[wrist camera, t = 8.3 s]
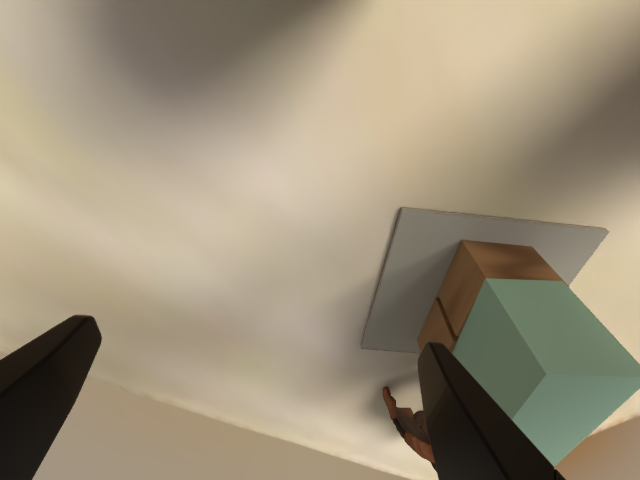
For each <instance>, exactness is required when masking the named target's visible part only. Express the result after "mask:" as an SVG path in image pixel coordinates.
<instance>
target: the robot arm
mask: <svg viewBox="0 0 640 480" xmlns="http://www.w3.org/2000/svg"><path fill="white" fill-rule="evenodd" d="M101 340H102V336H101V333H100V330H99V328H98V326H97V323H96V321H95V319H94V317H92V316H90V315H74V316H72V317H70V318H68V319H67V320H65V321H63V322H62V323H60V324H58V325H57V326H55V327H53V328H52V329H50V330H49V331H47V332H45V333H44V334H42V335H40V336H39V337H37V338H35V339H34V340H32V341H31V342H29V343H27V344H26V345H24V346H22V347H21V348H19V349H17V350H16V351H14V352H13V353H11V354H9V355H8V356H6V357H5V358H3V359H1V360H0V480H32V479H33V477H34V475H35V473H36V471H37V470H38V468H39V466H40V464H41V462H42V461H43V459H44V457H45V455H46V454H47V452H48V450H49V448H50V446H51V444H52V443H53V441H54V439H55V437H56V436H57V434H58V432H59V430H60V428H61V427H62V425H63V423H64V421H65V420H66V418H67V415H68V414H69V412H70V411H71V409H72V407H73V405H74V403H75V401H76V399H77V397H78V395H79V392H80V391H81V388H82V386H83V384H84V381H85V379H86V377H87V375H88V372H89V370H90V368H91V365H92V363H93V361H94V358H95V356H96V354H97V352H98V349H99V347H100V344H101ZM418 373H419V380H420V388H421V395H422V403H423V410H424V417H425V423H426V428H427V432H428V436H429V441H430V445H431V449H432V453H433V457H434V461H435V466H436V470H437V474H438V478H439V480H566V479H565V478H564V477H563V476H562V475H561V474H560V473H559V472H558V470H554V466H553V465H552V464H551V463H550V462H549V460H548V459H547V458H546V457H545V456H544V455H543V454H542V453H541V452H540V450H539V449H538V448H537V447H536V446H535V445H534V444H533V443H532V442H531V441H530V439H529V438H528V437H527V436H526V435H525V434H524V433H523V432H522V431H521V429H520V428H519V427H518V426H517V425H516V424H515V423H514V422H513V421H512V419H511V418H510V417H509V416H508V415H507V414H506V413H505V412H504V411H503V409H502V408H501V407H500V406H499V405H498V404H497V403H496V402H495V401H494V399H493V398H492V397H491V396H490V395H489V394H488V393H487V392H486V391H485V389H484V388H483V387H482V386H481V385H480V384H479V383H478V382H477V381H476V379H475V378H474V377H473V376H472V375H471V374H470V373H469V372H468V371H467V369H466V368H465V367H464V366H463V365H462V364H461V363H460V362H459V361H458V359H457V358H456V357H455V356H454V355H453V354H452V353H451V352H450V351H449V350H448V348H447V347H446V346H445V345H444V344H442V343H441V342H431V341H429V342H427V343H426V344H425V346H424V348H423V350H422V352H421V354H420V356H419V359H418Z"/></svg>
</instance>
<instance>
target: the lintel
mask: <svg viewBox="0 0 640 480" xmlns="http://www.w3.org/2000/svg"><path fill="white" fill-rule="evenodd" d="M452 354H453V355H454V356H455V357H456V358H457V359H458V361H459V362H460V363H461V364H462V365H463V366H464V367H465V368H466V369H467V371H468V372H469V373H470V374H471V375H472V376H473V377H474V378H475V379H476V381H477V382H478V383H479V384H480V385H481V386H482V387H483V388H484V389H485V391H486V392H487V393H488V394H489V395H490V396H491V397H492V398H493V399H494V401H495V402H496V403H497V404H498V405H499V406H500V407H501V408H502V409H503V411H504V412H505V413H506V414H507V415H508V416H509V417H510V418H511V419H512V421H513V422H514V423H515V424H516V425H517V426H518V427H519V428H520V429H521V431H522V432H523V433H524V434H525V435H526V436H527V437H528V438H529V439H530V441H531V442H532V443H533V444H534V445H535V446H536V447H537V448H538V449H539V450H540V452H541V453H542V454H543V455H544V456H545V457H546V458H547V459H548V460H549V462H550V463H551V464H552V465H553V466H555V465H556V464H558V463H559V462H560V461H561V460H562V459H563V458H564V457H565V456H566V455H567V454H568V453H569V452H571V451H572V450H573V449H574V448H575V447H576V446H577V445H578V444H579V443H580V442H582V441H583V440H584V439H585V438H586V437H587V436H588V435H589V434H590V433H591V432H592V431H594V430H595V429H596V428H597V427H598V426H599V425H600V424H601V423H602V422H603V421H604V420H606V419H607V418H608V417H609V416H610V415H611V414H612V413H613V412H614V411H615V410H616V409H618V408H619V407H620V406H621V405H622V404H623V403H624V402H625V401H626V400H627V399H628V398H630V397H631V396H632V395H633V394H634V393H635V392H636V391H637V390H638V389H639V388H640V364H639V363H638V362H637V361H636V360H635V359H634V358H633V357H632V356H631V355H630V353H629V352H628V351H627V350H626V349H625V348H624V347H623V346H622V345H621V344H620V343H619V342H618V340H617V339H616V338H615V337H614V336H613V335H612V334H611V333H610V332H609V331H608V330H607V328H606V327H605V326H604V325H603V324H602V323H601V322H600V321H599V320H598V319H597V318H596V317H595V315H594V314H593V313H592V312H591V311H590V310H589V309H588V308H587V307H586V306H585V305H584V304H583V302H582V301H581V300H580V299H579V298H578V297H577V296H576V295H575V294H574V293H573V292H572V291H571V289H570V288H569V287H568V286H567V285H566V284H565V283H564V282H563V281H547V280H519V279H491V278H485V280H484V283H483V285H482V287H481V289H480V292H479V294H478V296H477V298H476V300H475V303H474V305H473V307H472V309H471V312H470V314H469V316H468V318H467V320H466V323H465V325H464V327H463V329H462V332H461V334H460V336H459V338H458V341H457V343H456V345H455V347H454V349H453V352H452Z"/></svg>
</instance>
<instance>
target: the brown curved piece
mask: <svg viewBox="0 0 640 480" xmlns="http://www.w3.org/2000/svg"><path fill="white" fill-rule="evenodd" d="M383 397H384V401H385V403H386V405H387V407H388V410H389V413H390V417H391V419H392V420H393V422H394V424H395V425H396V428H397V430H398V431H399V433H400V435H401V436H402V437H403V438H404V440H405V442H406V443H407V444H408V445H409V446H410V447H411V448H412V449H413V450H414V451H415V452H416V453H417V454H418V455H420V456H421V457H422V458H424V459H427V460H428V461H430V462H431V464H432V466H433V468H434V469H435V470H436V466H435V461H434V457H433V453H432V449H431V445H430V441H429V436H428V432H427V428H426V423H425V417H424V411H417V412H416V413H415V414H414V415H413V412H412V410H411V408H405V409H404V408H397V407H396V400H395V399H394V398H393V397H392V396H391V393H390V390H389V388H388V387H384V388H383ZM419 425H420V426H419ZM436 472H437V470H436Z"/></svg>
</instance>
